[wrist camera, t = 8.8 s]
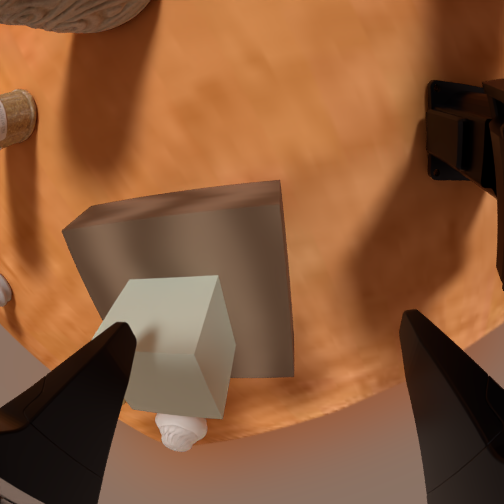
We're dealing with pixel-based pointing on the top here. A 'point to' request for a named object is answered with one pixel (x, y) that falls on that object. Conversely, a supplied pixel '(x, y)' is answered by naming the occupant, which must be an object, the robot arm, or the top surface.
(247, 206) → the walnut base
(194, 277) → the sage cube
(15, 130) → the sprinkles bottle
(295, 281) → the top surface
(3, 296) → the rook chess piece
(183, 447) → the muffin
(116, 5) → the carving
